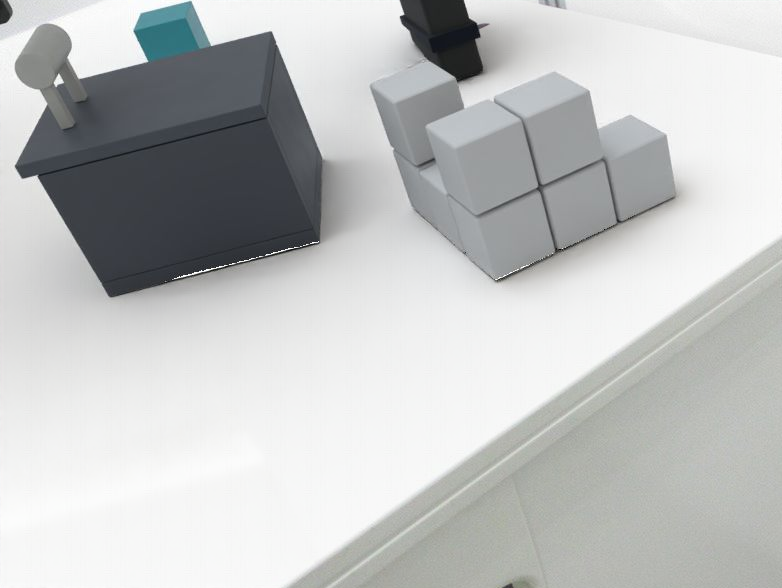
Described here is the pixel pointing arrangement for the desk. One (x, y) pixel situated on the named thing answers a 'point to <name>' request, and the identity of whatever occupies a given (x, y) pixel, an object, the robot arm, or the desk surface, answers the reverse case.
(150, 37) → the teal cube
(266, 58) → the compartment lid
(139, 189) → the compartment
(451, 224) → the puzzle cube
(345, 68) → the desk surface
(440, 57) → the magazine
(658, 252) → the desk surface
